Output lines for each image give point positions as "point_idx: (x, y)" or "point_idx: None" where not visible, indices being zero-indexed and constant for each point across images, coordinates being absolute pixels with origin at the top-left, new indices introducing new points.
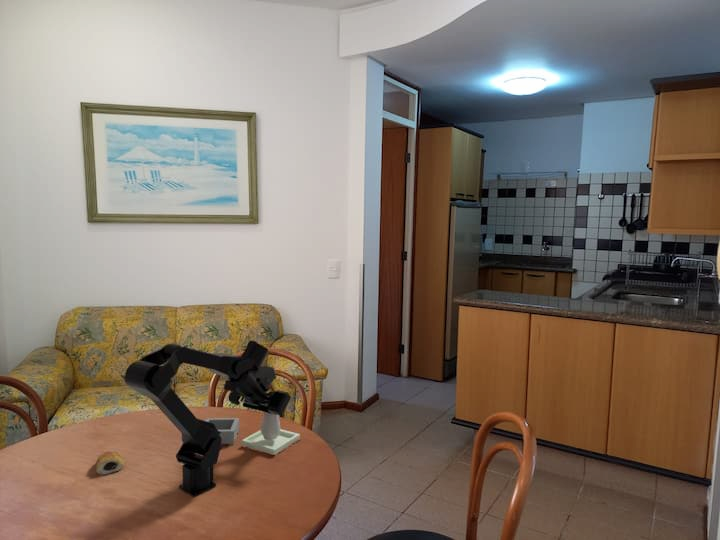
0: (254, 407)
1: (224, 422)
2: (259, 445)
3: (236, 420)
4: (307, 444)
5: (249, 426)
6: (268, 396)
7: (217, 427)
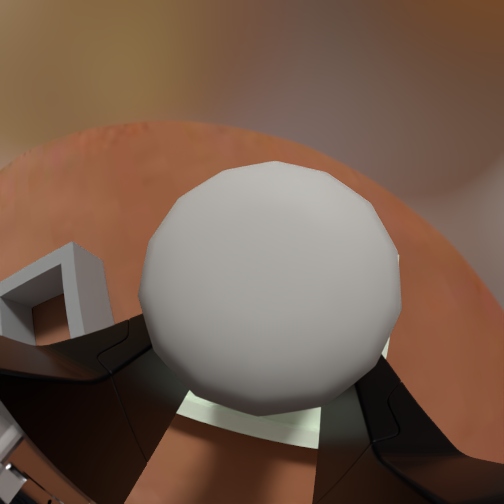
0: (137, 466)
1: (40, 282)
2: (267, 439)
3: (69, 271)
4: (432, 287)
5: (127, 216)
6: (253, 393)
7: (36, 295)
